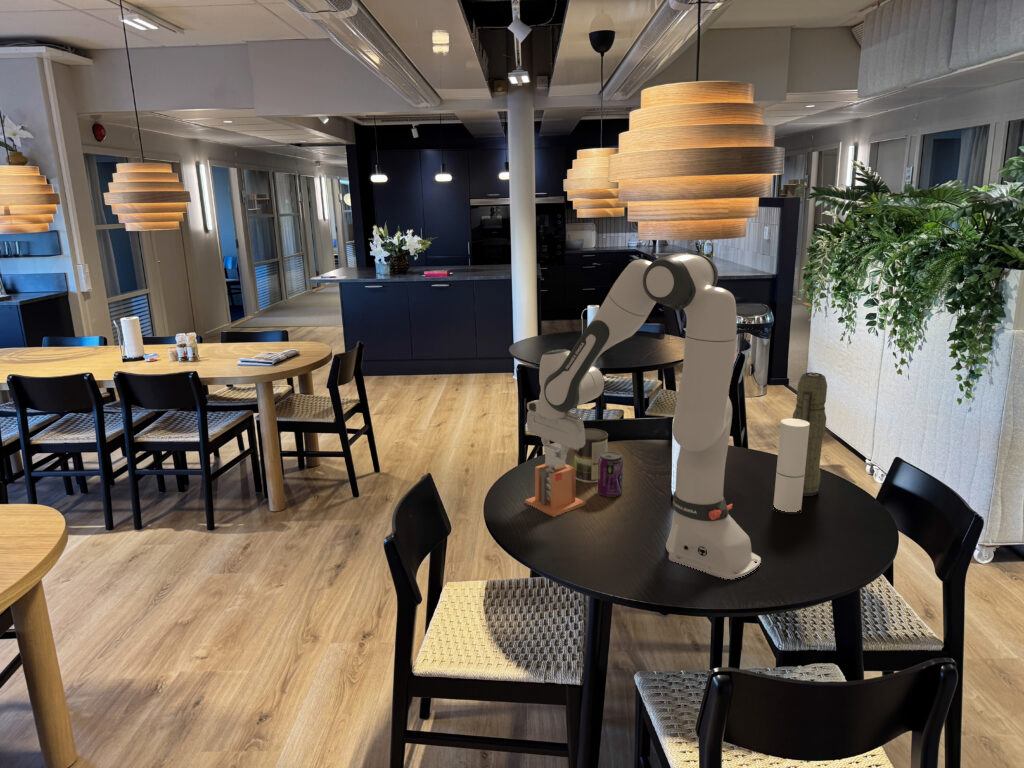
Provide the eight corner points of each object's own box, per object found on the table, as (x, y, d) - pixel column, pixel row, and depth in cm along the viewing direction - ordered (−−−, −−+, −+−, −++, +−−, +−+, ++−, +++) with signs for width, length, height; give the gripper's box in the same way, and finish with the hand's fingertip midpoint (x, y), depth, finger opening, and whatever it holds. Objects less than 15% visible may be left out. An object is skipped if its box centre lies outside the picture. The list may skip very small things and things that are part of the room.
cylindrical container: (801, 506, 197) (810, 420, 190) (800, 516, 190) (808, 427, 184) (774, 502, 200) (782, 417, 193) (772, 512, 193) (779, 424, 187)
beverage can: (614, 500, 202) (615, 461, 199) (593, 494, 206) (593, 455, 203) (626, 492, 207) (627, 453, 204) (605, 487, 212) (606, 449, 209)
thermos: (821, 486, 210) (833, 371, 201) (814, 501, 200) (827, 380, 191) (790, 481, 214) (800, 368, 205) (782, 494, 205) (792, 377, 196)
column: (565, 500, 200) (565, 446, 196) (553, 504, 197) (553, 449, 193) (555, 495, 203) (555, 442, 199) (543, 499, 200) (543, 446, 196)
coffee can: (574, 483, 215) (574, 438, 211) (572, 470, 225) (573, 428, 221) (608, 483, 214) (609, 439, 211) (605, 470, 224) (606, 428, 221)
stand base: (585, 504, 199) (586, 467, 196) (553, 516, 192) (553, 478, 189) (556, 492, 208) (556, 456, 206) (525, 503, 201) (524, 465, 198)
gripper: (591, 414, 187) (590, 463, 191) (539, 398, 203) (540, 444, 206) (573, 418, 183) (573, 468, 187) (522, 402, 199) (523, 449, 202)
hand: (555, 455), depth 197 cm, fingers open, 4 cm apart
